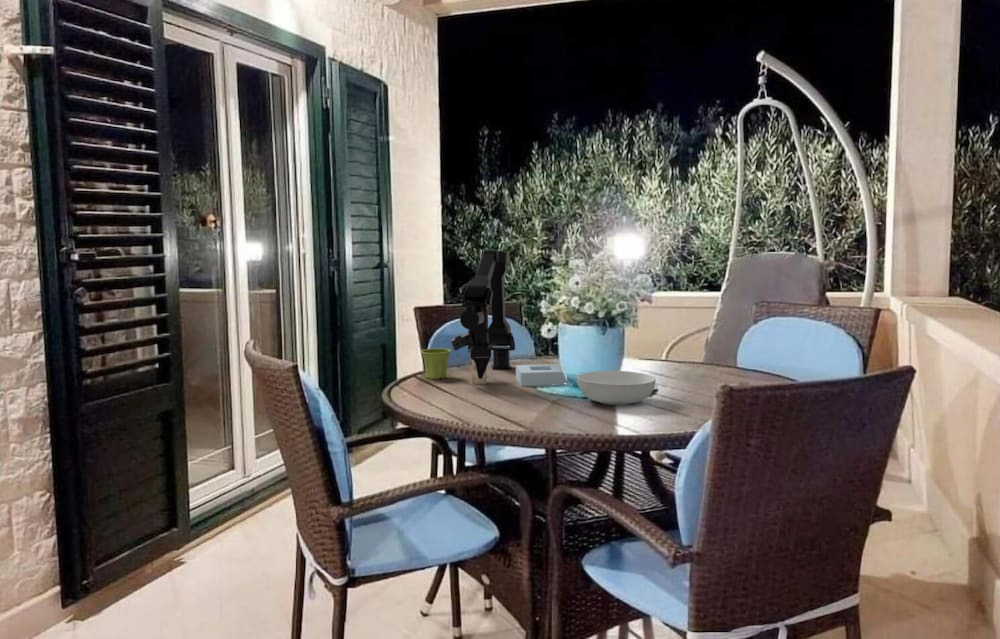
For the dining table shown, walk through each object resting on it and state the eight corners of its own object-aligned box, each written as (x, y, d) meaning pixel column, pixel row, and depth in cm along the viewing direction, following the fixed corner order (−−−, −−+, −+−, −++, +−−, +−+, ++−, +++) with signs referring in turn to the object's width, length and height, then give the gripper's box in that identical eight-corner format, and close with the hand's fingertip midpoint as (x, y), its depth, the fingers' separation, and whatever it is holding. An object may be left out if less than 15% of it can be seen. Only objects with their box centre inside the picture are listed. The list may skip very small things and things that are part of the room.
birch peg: (471, 382, 244) (471, 356, 244) (486, 381, 245) (485, 356, 244) (472, 385, 240) (472, 358, 239) (487, 384, 240) (486, 358, 240)
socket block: (515, 377, 251) (515, 365, 251) (559, 376, 252) (559, 364, 252) (520, 386, 237) (520, 372, 237) (567, 384, 239) (567, 371, 238)
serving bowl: (637, 414, 200) (637, 387, 200) (563, 405, 211) (563, 379, 211) (666, 398, 218) (667, 374, 217) (597, 391, 229) (597, 367, 228)
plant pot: (447, 380, 248) (446, 353, 247) (418, 379, 249) (417, 352, 248) (454, 375, 257) (453, 348, 256) (425, 374, 259) (425, 348, 258)
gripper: (451, 322, 249) (452, 371, 251) (452, 329, 230) (453, 382, 232) (486, 321, 250) (487, 370, 252) (491, 328, 231) (491, 381, 233)
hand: (479, 376), depth 242 cm, fingers open, 8 cm apart
